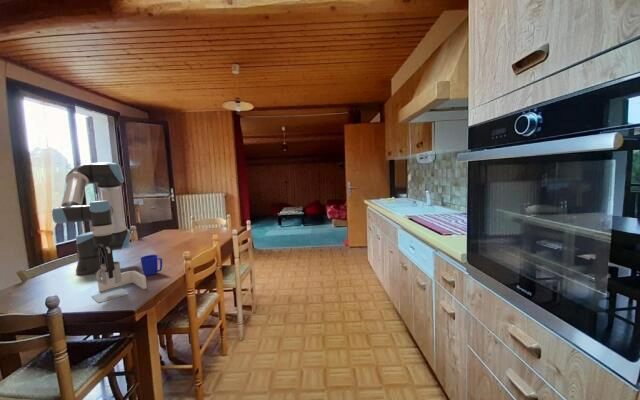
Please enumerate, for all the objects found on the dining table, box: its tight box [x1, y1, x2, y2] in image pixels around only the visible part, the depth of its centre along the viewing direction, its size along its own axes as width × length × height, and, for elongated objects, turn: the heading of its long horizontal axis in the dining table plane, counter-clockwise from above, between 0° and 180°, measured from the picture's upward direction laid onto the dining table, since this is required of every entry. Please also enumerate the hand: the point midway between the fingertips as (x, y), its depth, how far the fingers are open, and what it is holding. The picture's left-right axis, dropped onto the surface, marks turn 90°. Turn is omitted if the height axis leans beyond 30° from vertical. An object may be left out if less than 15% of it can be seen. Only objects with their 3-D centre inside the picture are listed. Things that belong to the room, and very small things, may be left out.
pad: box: [91, 287, 130, 304], centre depth 137 cm, size 12×12×1 cm
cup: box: [95, 261, 122, 285], centre depth 136 cm, size 7×10×9 cm
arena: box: [97, 269, 147, 292], centre depth 144 cm, size 17×16×6 cm
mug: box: [140, 254, 163, 277], centre depth 165 cm, size 8×12×10 cm
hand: (108, 282), depth 137 cm, fingers closed on cup, 7 cm apart
